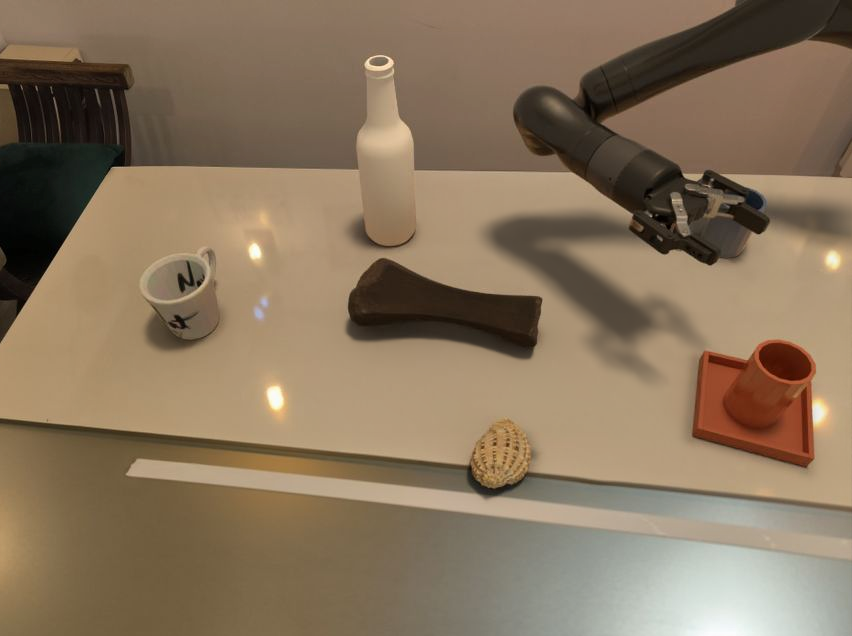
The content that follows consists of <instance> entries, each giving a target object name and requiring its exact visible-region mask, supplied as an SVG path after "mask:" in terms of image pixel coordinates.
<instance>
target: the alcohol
mask: <svg viewBox="0 0 852 636" xmlns="http://www.w3.org/2000/svg"><path fill="white" fill-rule="evenodd" d="M394 62H395V61H394V60H393V59H392V57H389V56H387V55H382V54H381V55H380V54H379V55H373V56H371V57H369V58H368V59H366V61H364V69H365V71H364V74H365V75H364V76H365V77H366V120H365V122H364V124H363V125H362V126H361V128H360V129H359V131H358V133H357V135H356V136H357V137H356V141H355V148H356V159H357V166H358V174H359V184H360V193H361V200H362V201H361V202H362V210H363V219H364V220H363V221H364V227H365V233H366V235H367V236H368V238H370V239H371V240H372V241H373V242H374V243H376V244H377V245H379V246H384V247H395V246H400V245H402V244H404V243H406V242H407V241H408V240H410V239H411V237H412V236H413V235H414V234H415V232H416V229H417V213H416V210H417V209H416V181H415V180H416V177H415V175H416V174H415V143H414V138H413V135H412V131H411V129H410V128H409V126H408V125H407V124H406V122H404V121H403V120H402V119H401V118H400V114H399V109H398V108H399V107H398V101H397V94H396V85H395V79H394V75H395V68H394V65H395V63H394Z"/></svg>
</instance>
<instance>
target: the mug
mask: <svg viewBox="0 0 852 636" xmlns="http://www.w3.org/2000/svg"><path fill="white" fill-rule="evenodd" d="M206 254H207V257H208V261H207V260H206V259H205V258H203V257H204V256H205V255H206ZM216 271H217V256H216V252H215V250H213V248H211V246H209V245H204V246H201V247H200V248H199V249H197V251H196V252H195V253H188V252H180V253H179V252H178V253H173V254H170V255H166V256H163V257H161V258H159V259H158V260H156V261H154V262H153V263H150V265H149V266H148V267H147V268H146V269H145V270H144V271H143V273H142V275H141V277H140V279H139V284H138V285H139V286H138V288H139V292H140V294H141V297H143V299H144V300H145V301H146V303H148V305H149V307H151V308H152V309H153V311H154V312H155V313H156V314H157V315H158V317H159V318H160V319H161V320H162V322H163V323H165V325H166V327H168V328H169V330H170V331H171V333H173V334H174V335H175V337H177V338H180V339H182V340H190V341H191V340H198V339H201V338H204V337H206V336H207V335H209V334H210V333H212V332H213V331H214V330H215V329H216V327H217V326H218V325H219V321H220V309H219V305H218V298H217V294H216V288H215V277H216Z"/></svg>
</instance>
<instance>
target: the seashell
mask: <svg viewBox="0 0 852 636" xmlns="http://www.w3.org/2000/svg"><path fill="white" fill-rule="evenodd" d="M531 452H532V451H531V445H530V442H529V439H528V436H527V435H526V433H525V431H524V430H522V429H521V428H520V427H519V426H518V425H516V423H515V422H514V421H513V420H512V419H510V418H507V417H503V418H502V419H499V420H496V421H495V422H493V423H492V425H491V426H489V428H488V430H487V431H486V433H484V434H483V435H482V436H481V438H480V439H479V440H477V441H476V442H475V444H474V449H473V451H472V453H471V456H470V467H471V474H472V476H473V477H474V479H475V481H477V482H479V483H480V485H481V486H484V487H487V489H489V488H490V489H491V488H492V489H493V490H495V489H497V488H502V487H504V486H505V485H511V486H512V485H514V484H517V483H519V482H520V481H521V480H523V479H524V477H525V476H526V475H527V472H528V470H529V468H530V464H531V455H532V453H531Z"/></svg>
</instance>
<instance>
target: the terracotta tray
mask: <svg viewBox="0 0 852 636" xmlns="http://www.w3.org/2000/svg"><path fill="white" fill-rule="evenodd" d="M747 361H748V359H744V358H739V357H735V356H731V355H726V354H723V353H718V352H713V351H710V350H704V351H703V353H702V354H701V355H700V357H699V362H698V363H699V364H698V374H697V384H696V396H695V405H694V416H693V427H692V437H694V438H698V439H703V440H705V441H710V442H713V443H717V444H721V445H725V446H728V447H732V448H736V449H739V450H744V451H746V452H751V453H754V454H758V455H761V456H766V457H769V458H773V459H776V460H780V461H784V462H788V463H791V464H794V465H799V466H802V467H808V466H809V465H810V464H811V463H812V462H813V461H815V441H814V418H813V414H814V413H813V391H812V380H811V381H810V382H809V383H808V385H807V386H806V387H805V388H804V389H803V391H802V392H801V393H800V394H799V395H798V396H797V398H796V399H795V400H794V401H793V402H792V403H791V405H790V406H789V407H788V408H787V409H786V410H785V412H784V413H783V414H782V415H781V416H780V418H779V419H778V420H777V421H776V422H775V423H774V424H772V425H771V426H769V427H766V428H751V427H748V426H745V425H742V424H740V423H739V422H737V421H736V420H734V419H733V418H732V417H731V416H730V415H729V414H728V412H727V411H726V409H725V407H724V403H723V399H724V395H725V393H726V392H727V390H728V389H729V387H730V386H731V384H732V383H733V381H734V380H735V378H736V377H737V376H738V374H739V373H740V371H741V370H742V368H743V367H744V365H745V364H746V362H747Z"/></svg>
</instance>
